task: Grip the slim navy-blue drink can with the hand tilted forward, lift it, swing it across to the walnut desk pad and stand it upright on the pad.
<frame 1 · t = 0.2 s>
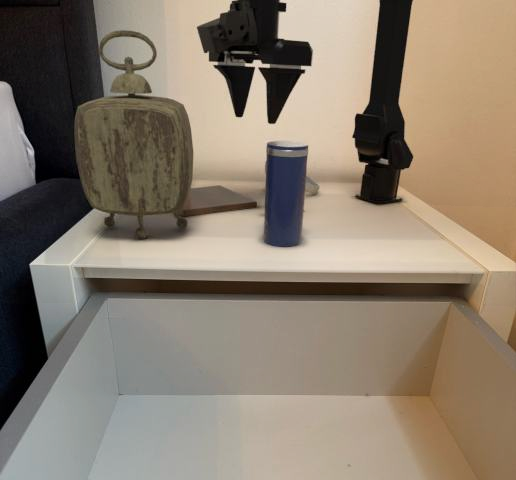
hand: (254, 120, 74), 15 cm above the table, tool pointing down, fingers open, 9 cm apart
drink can: (282, 240, 71), on the table
ceramic mug: (290, 193, 98), on the table
desk pad: (203, 202, 89), on the table
tabletop clock: (143, 235, 72), on the table
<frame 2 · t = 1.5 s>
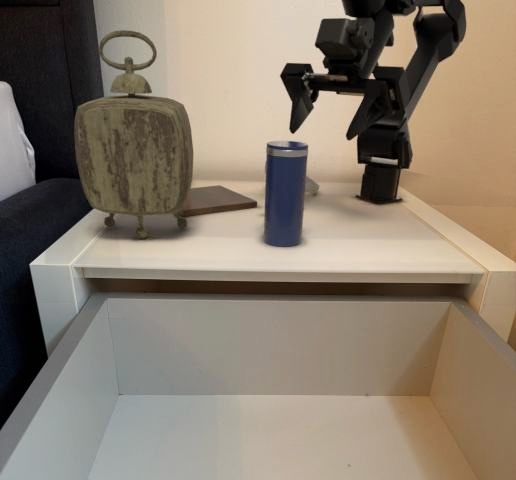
hand: (318, 134, 71), 13 cm above the table, tool tilted 45°, fingers open, 9 cm apart
nothing on the table moved.
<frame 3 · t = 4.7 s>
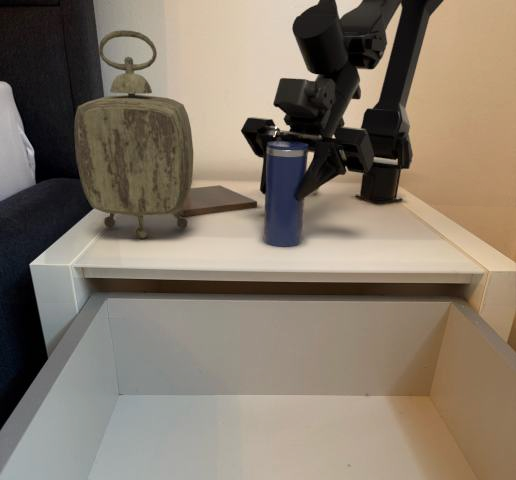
hand: (279, 195, 67), 7 cm above the table, tool tilted 45°, fingers closed on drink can, 5 cm apart
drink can: (282, 240, 71), on the table, touching gripper
everything else where it was.
when the fingers open (8 cm above the table, at t = 13.0 s): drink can stays where it is, resting on desk pad.
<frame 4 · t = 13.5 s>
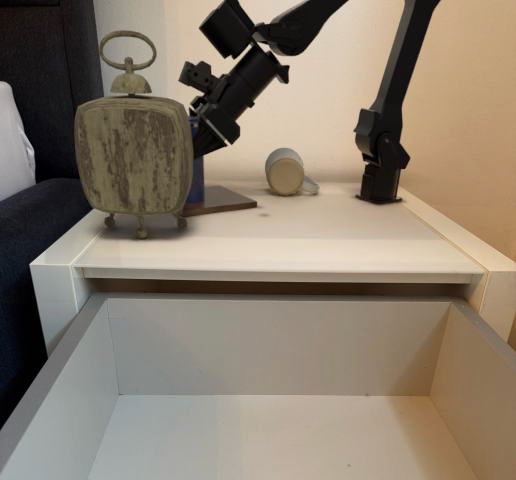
hand: (178, 156, 83), 8 cm above the table, tool tilted 45°, fingers open, 9 cm apart
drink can: (189, 199, 87), point 1 cm above the table, touching desk pad
everything else where it was.
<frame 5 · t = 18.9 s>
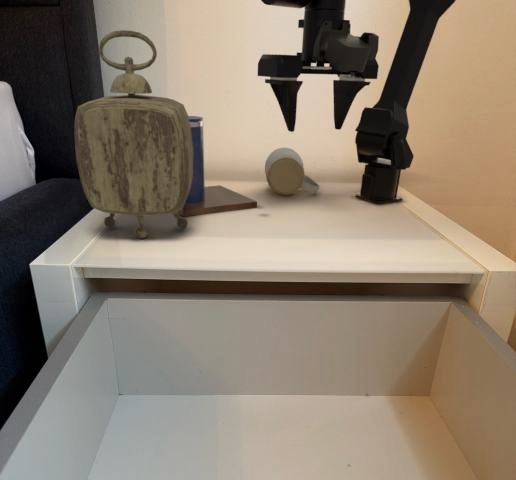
hand: (315, 130, 78), 13 cm above the table, tool pointing down, fingers open, 9 cm apart
nothing on the table moved.
at the end: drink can inside the target area on the desk pad (3.0 cm from its centre), point 1.0 cm above the desk pad's base; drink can tilted 0° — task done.
